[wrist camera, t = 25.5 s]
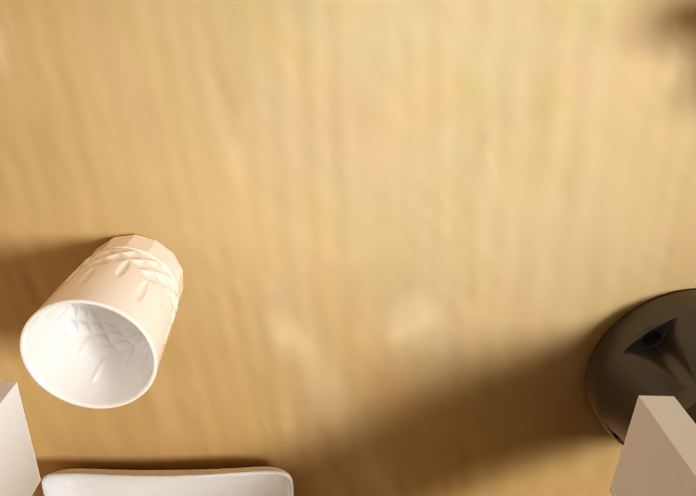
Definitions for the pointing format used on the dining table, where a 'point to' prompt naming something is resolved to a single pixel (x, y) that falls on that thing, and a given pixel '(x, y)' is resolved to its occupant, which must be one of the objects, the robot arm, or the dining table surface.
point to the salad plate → (169, 482)
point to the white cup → (105, 324)
